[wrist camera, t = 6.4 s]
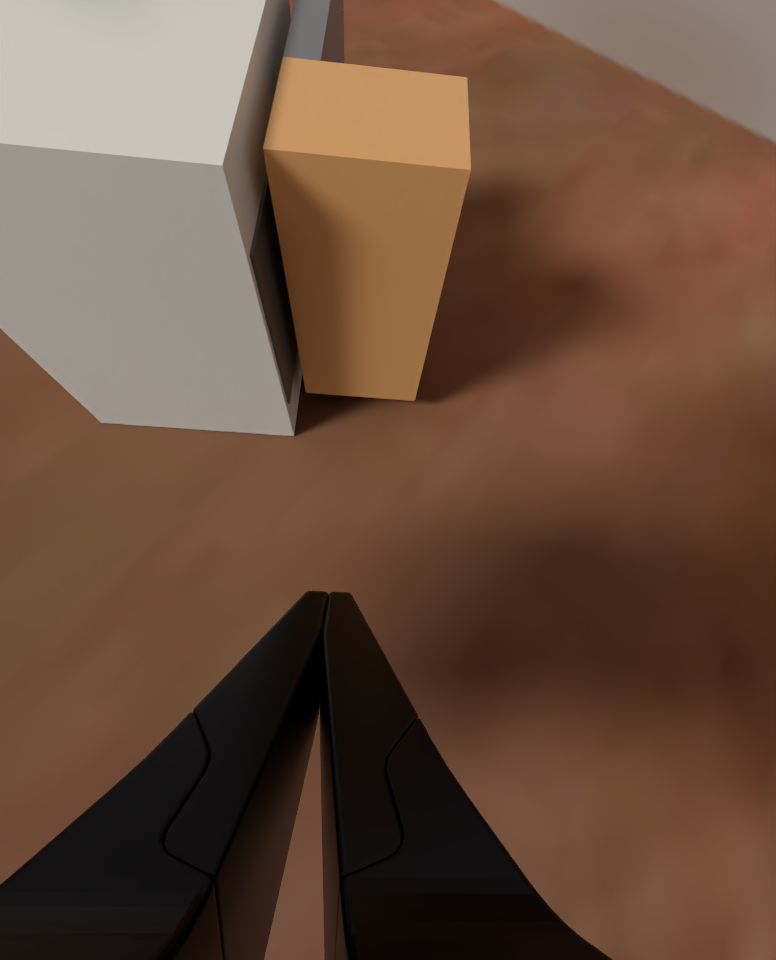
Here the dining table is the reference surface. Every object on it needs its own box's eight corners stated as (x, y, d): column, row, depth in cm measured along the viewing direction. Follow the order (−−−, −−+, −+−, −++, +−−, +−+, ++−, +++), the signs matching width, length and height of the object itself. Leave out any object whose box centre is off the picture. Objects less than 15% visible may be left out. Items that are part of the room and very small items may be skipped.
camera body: (296, 436, 17) (217, 127, 7) (101, 422, 16) (-270, 75, 7) (321, 242, 21) (292, -140, 11) (162, 227, 20) (-19, -183, 10)
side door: (414, 400, 17) (470, 169, 9) (306, 392, 16) (262, 148, 9) (418, 225, 20) (461, -57, 12) (328, 216, 20) (312, -76, 12)
